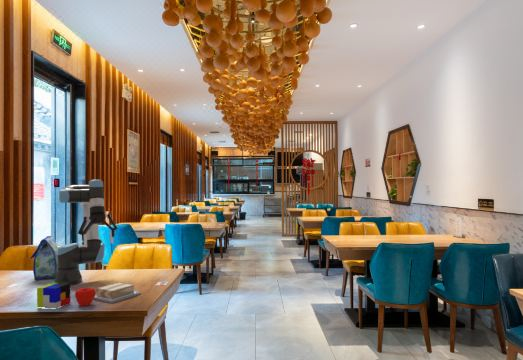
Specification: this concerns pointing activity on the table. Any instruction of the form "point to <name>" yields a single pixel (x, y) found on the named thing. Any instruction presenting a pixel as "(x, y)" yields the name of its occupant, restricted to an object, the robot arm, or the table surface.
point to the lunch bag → (45, 259)
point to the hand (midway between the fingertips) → (98, 244)
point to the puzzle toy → (53, 295)
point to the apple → (85, 296)
